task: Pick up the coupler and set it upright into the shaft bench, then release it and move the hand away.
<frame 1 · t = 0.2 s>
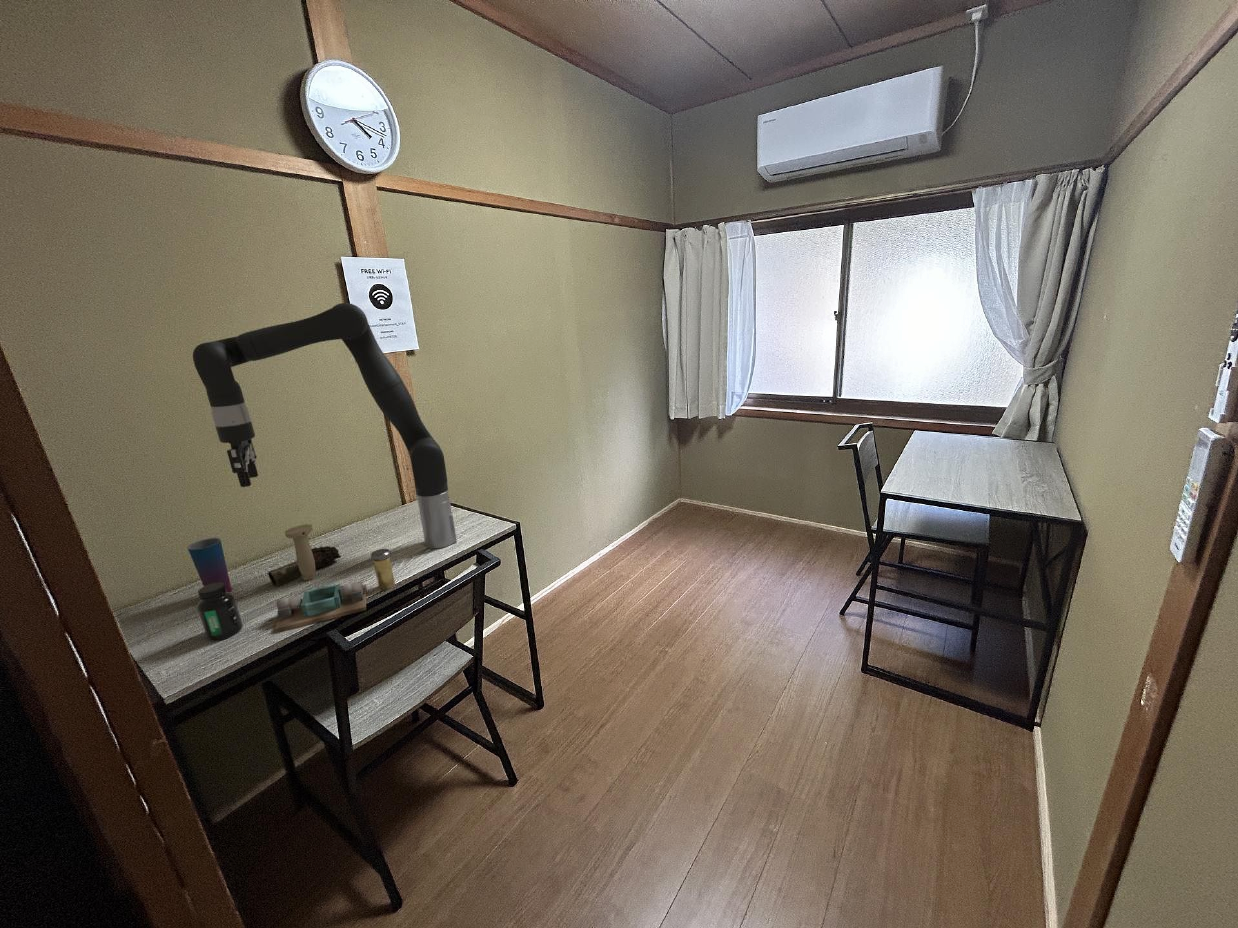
hand: (250, 481, 133), 29 cm above the table, fingers open, 8 cm apart
cup: (220, 594, 135), on the table
coupler: (387, 586, 135), on the table
supplement bottle: (225, 633, 118), on the table
dark brown elongated piece: (307, 572, 145), on the table
shaft bench: (324, 608, 126), on the table
handle: (309, 578, 141), on the table
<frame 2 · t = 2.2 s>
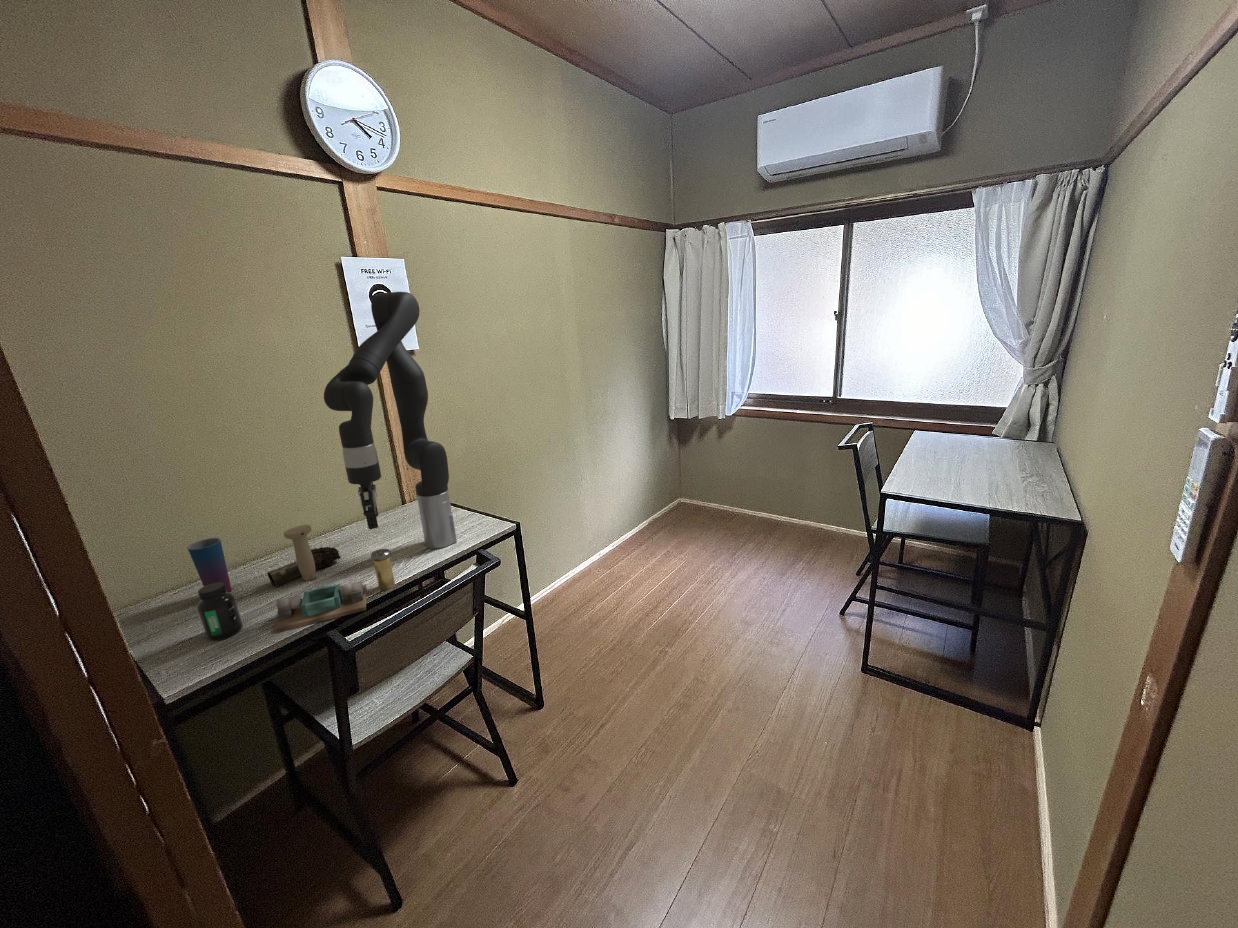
hand: (373, 522, 129), 19 cm above the table, fingers open, 8 cm apart
nothing on the table moved.
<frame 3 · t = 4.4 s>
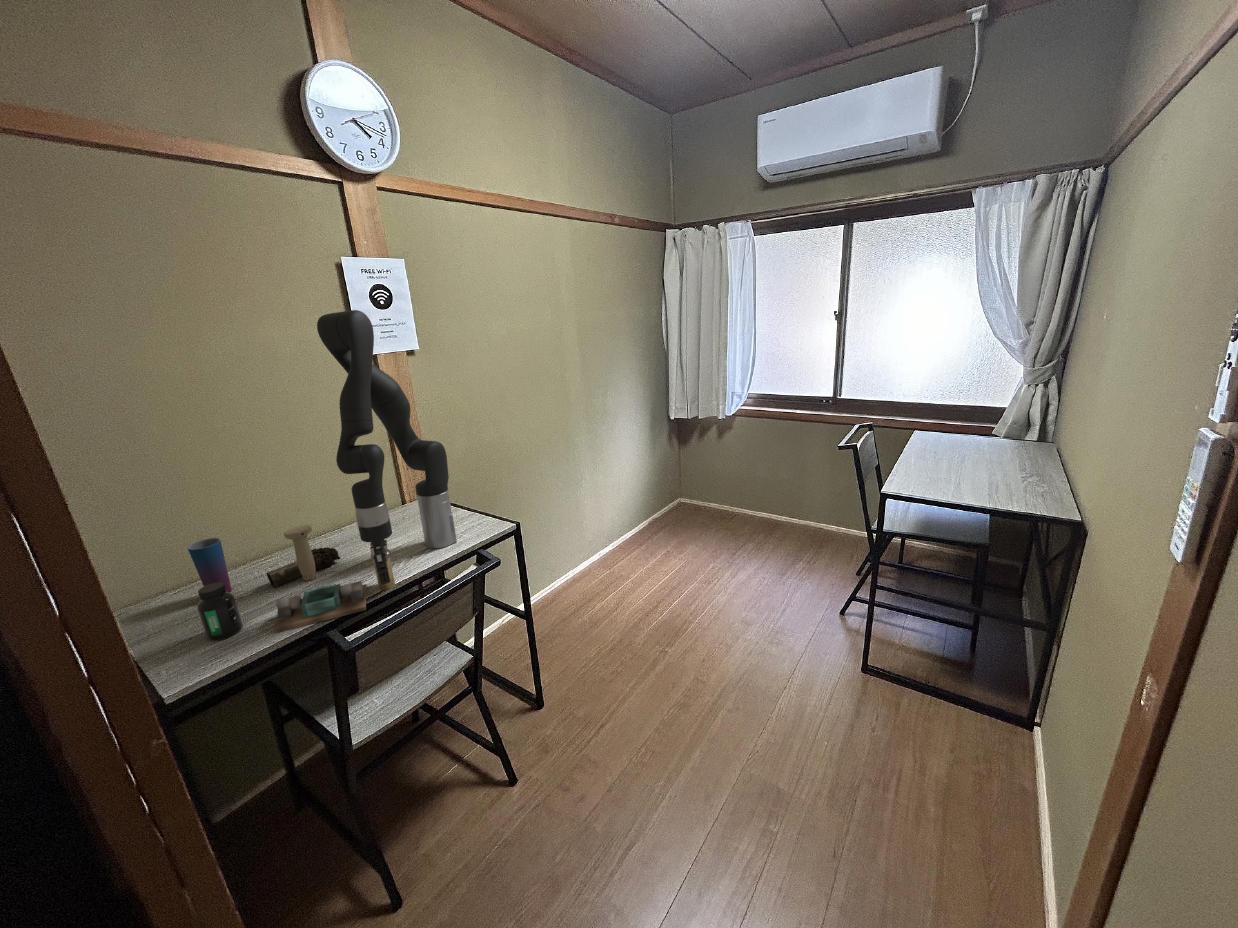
hand: (385, 578, 134), 2 cm above the table, fingers closed on coupler, 4 cm apart
coupler: (387, 586, 135), on the table, touching gripper
everything else where it was.
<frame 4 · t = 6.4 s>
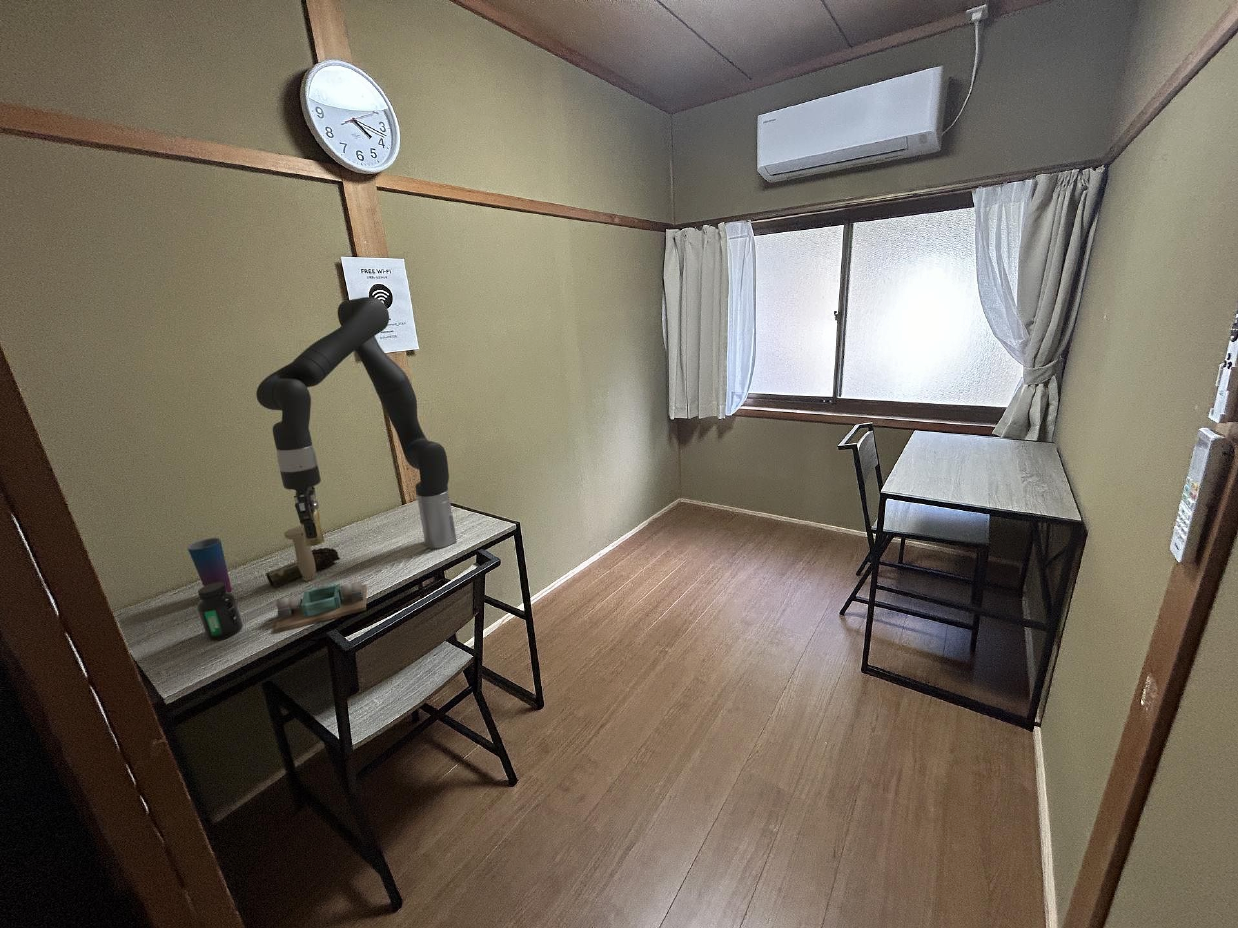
hand: (313, 533, 121), 20 cm above the table, fingers closed on coupler, 4 cm apart
coupler: (315, 542, 121), point 18 cm above the table, touching gripper
dark brown elongated piece: (306, 573, 144), on the table, touching handle
handle: (310, 579, 141), on the table, touching dark brown elongated piece
everything else where it was.
when the fingers open (5 cm above the table, at t = 8.8 s): coupler drops 2 cm, resting on shaft bench.
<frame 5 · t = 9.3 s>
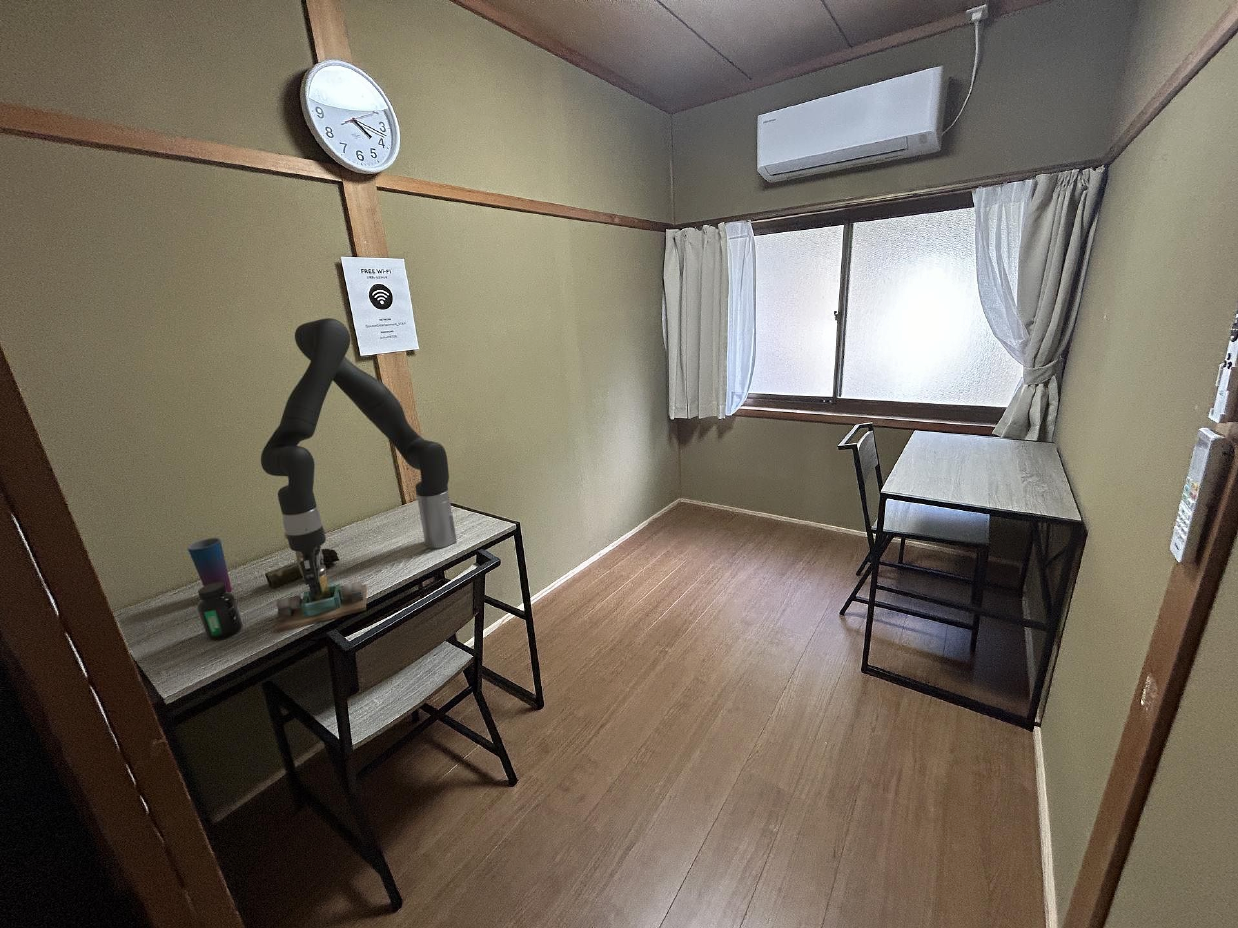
hand: (319, 587, 124), 6 cm above the table, fingers open, 8 cm apart
coupler: (323, 604, 126), point 1 cm above the table, touching shaft bench
dark brown elongated piece: (305, 574, 144), on the table
handle: (310, 579, 141), on the table
everything else where it was.
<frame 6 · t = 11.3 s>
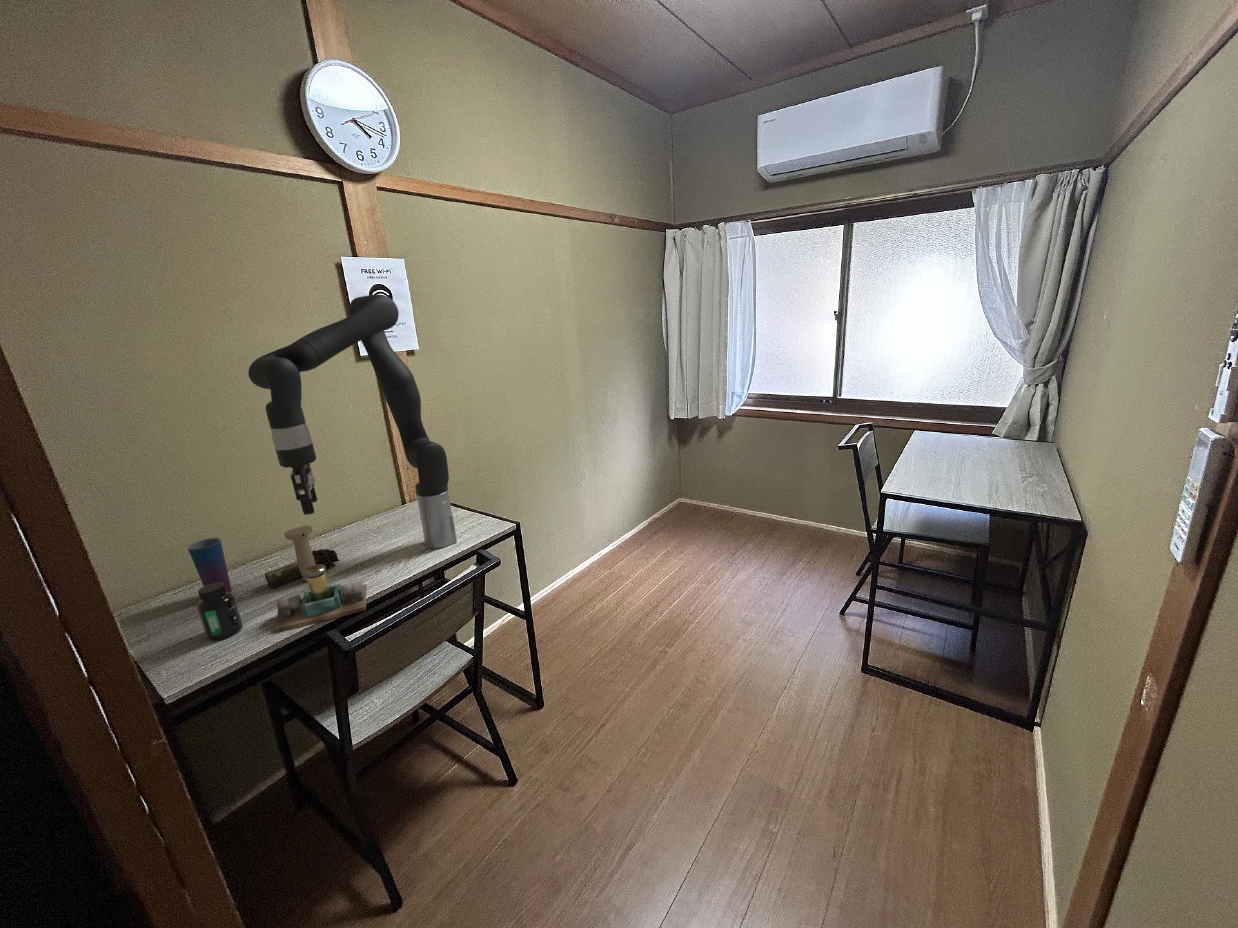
hand: (311, 507, 123), 25 cm above the table, fingers open, 8 cm apart
nothing on the table moved.
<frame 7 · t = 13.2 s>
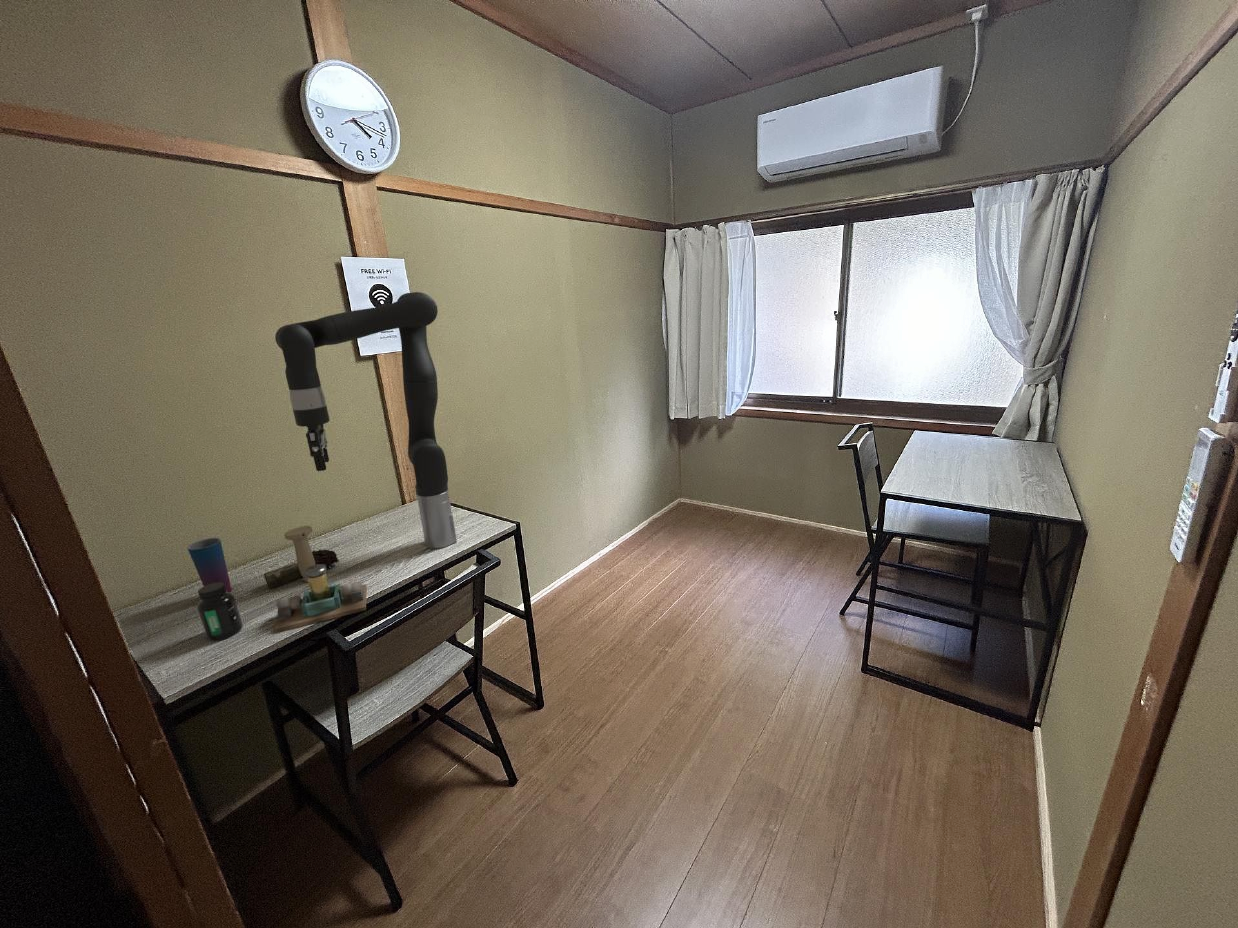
hand: (323, 466, 133), 32 cm above the table, fingers open, 8 cm apart
nothing on the table moved.
at the end: coupler 0.2 cm off-centre on the shaft bench, point 1.0 cm above the shaft bench's base; coupler tilted 1°; the gripper is holding nothing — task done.
